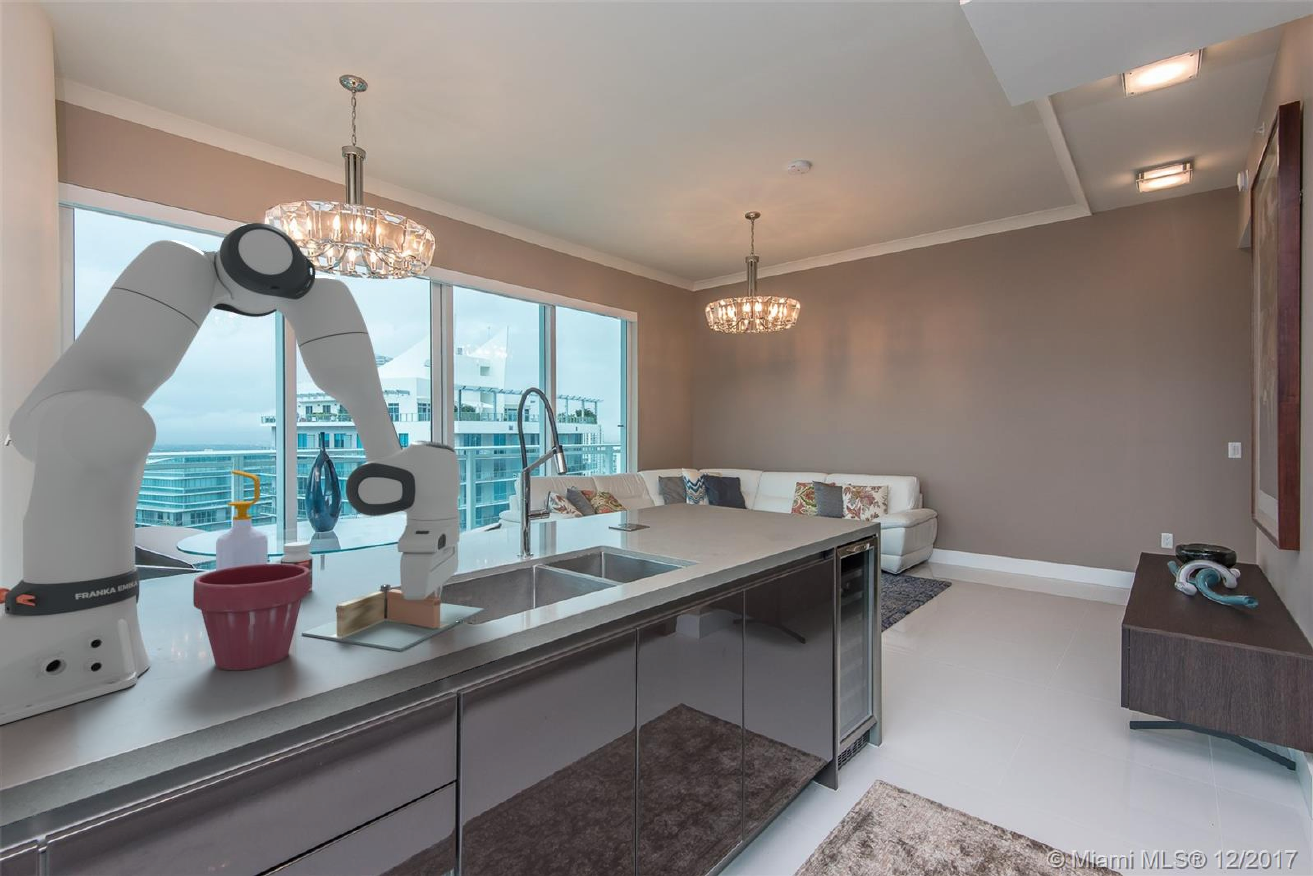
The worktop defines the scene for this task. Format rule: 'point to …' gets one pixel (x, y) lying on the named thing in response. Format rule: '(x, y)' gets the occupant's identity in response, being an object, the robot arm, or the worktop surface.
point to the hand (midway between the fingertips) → (432, 610)
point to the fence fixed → (360, 613)
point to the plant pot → (251, 612)
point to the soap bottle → (242, 536)
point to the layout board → (395, 630)
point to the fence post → (384, 589)
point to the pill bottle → (298, 556)
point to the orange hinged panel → (413, 609)
